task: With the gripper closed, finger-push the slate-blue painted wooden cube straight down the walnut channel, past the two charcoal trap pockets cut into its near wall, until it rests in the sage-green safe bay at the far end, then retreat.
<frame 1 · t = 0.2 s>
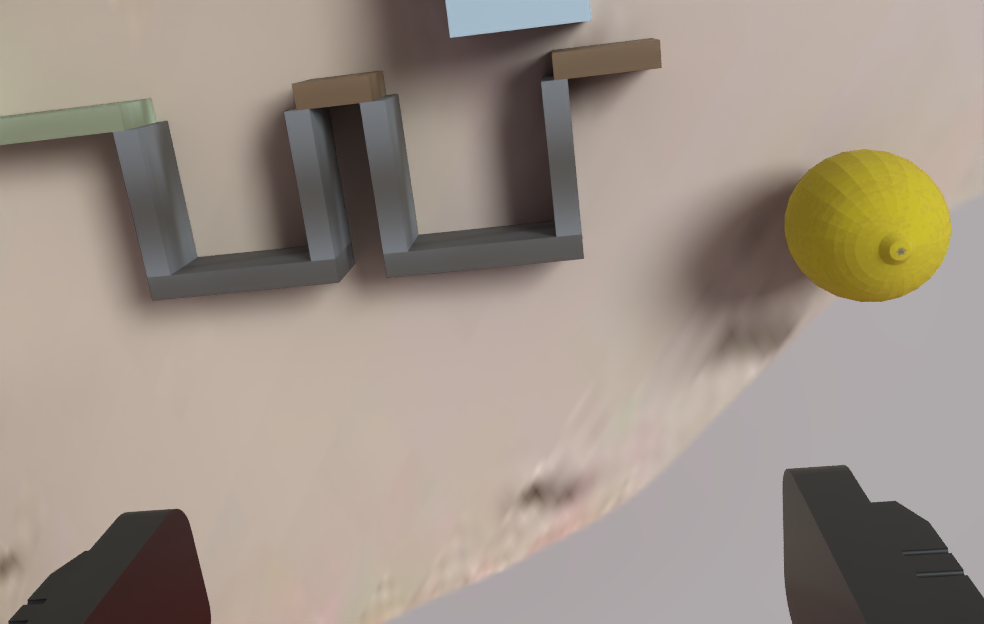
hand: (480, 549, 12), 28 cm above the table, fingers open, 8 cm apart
lemon: (832, 203, 39), on the table
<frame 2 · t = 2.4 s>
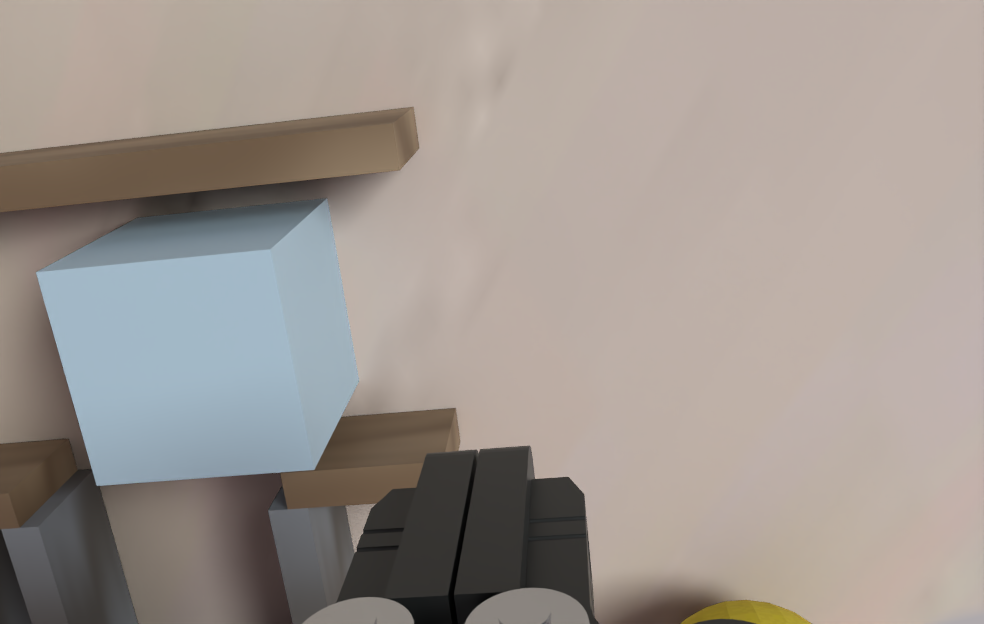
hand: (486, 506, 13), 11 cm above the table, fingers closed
block: (251, 300, 24), resting in trap box
lemon: (728, 621, 27), on the table
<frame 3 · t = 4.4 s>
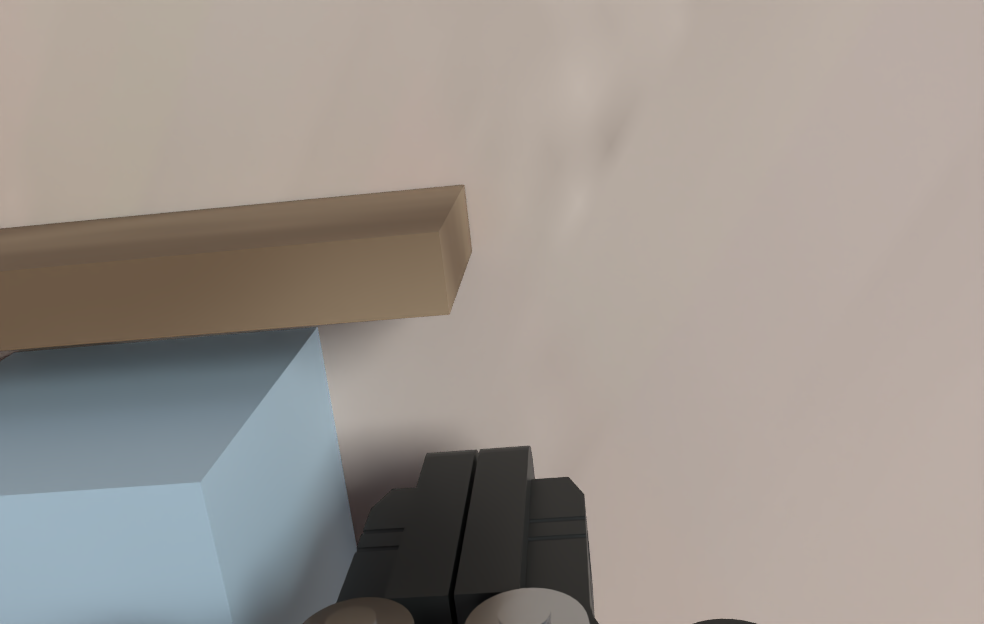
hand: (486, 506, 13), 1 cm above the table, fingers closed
block: (197, 479, 15), resting in trap box, touching gripper
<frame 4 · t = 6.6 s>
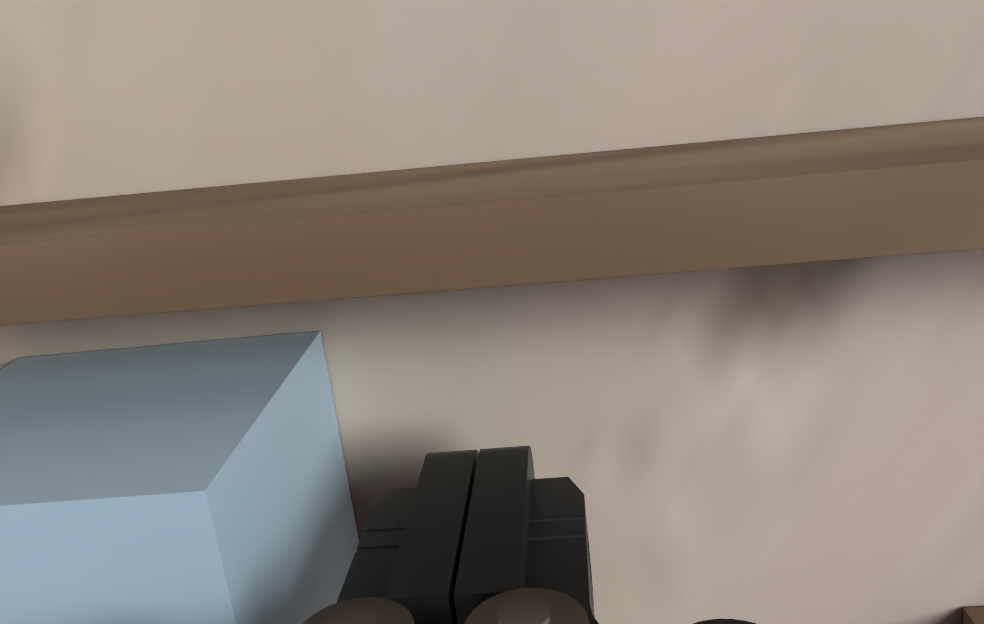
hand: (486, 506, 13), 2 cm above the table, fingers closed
trap box: (337, 453, 15), on the table
block: (200, 484, 15), resting in trap box, touching gripper
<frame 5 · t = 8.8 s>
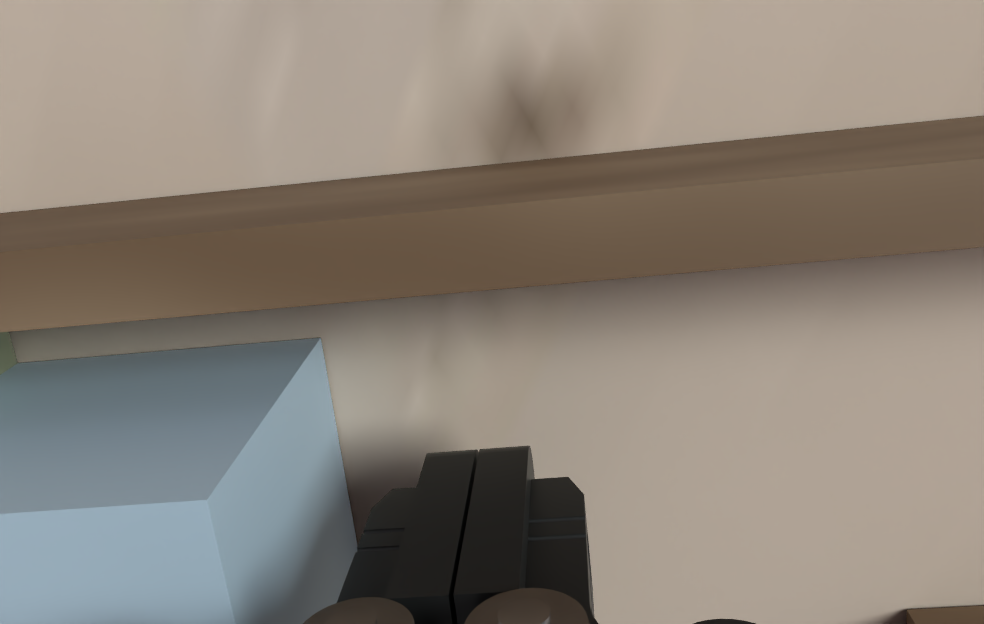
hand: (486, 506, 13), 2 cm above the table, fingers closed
trap box: (913, 416, 14), on the table
block: (199, 490, 15), resting in trap box, touching gripper
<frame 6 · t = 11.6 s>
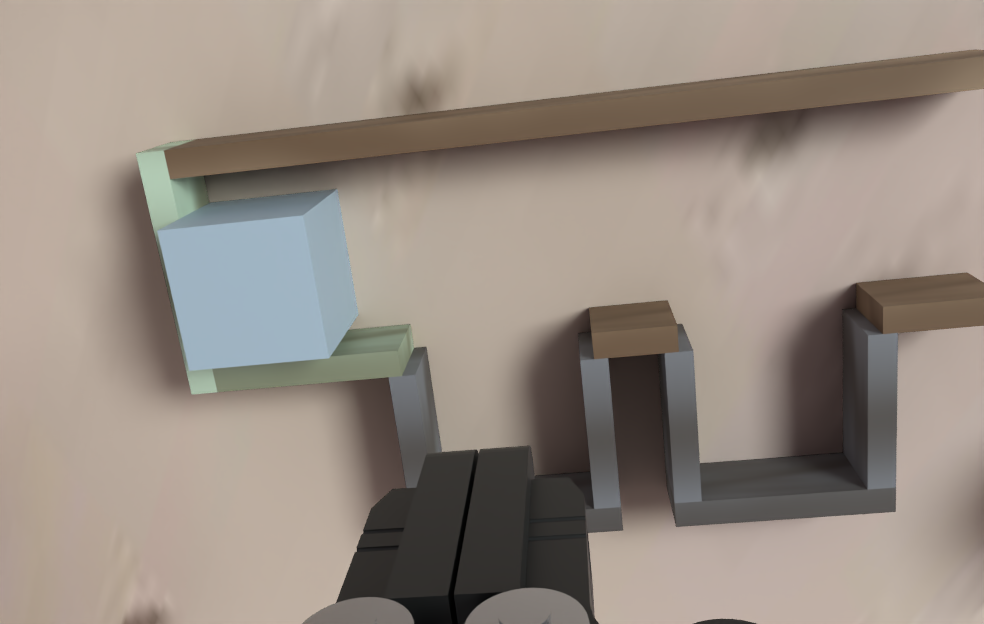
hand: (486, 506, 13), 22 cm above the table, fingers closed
trap box: (580, 218, 34), on the table
block: (285, 258, 36), resting in trap box
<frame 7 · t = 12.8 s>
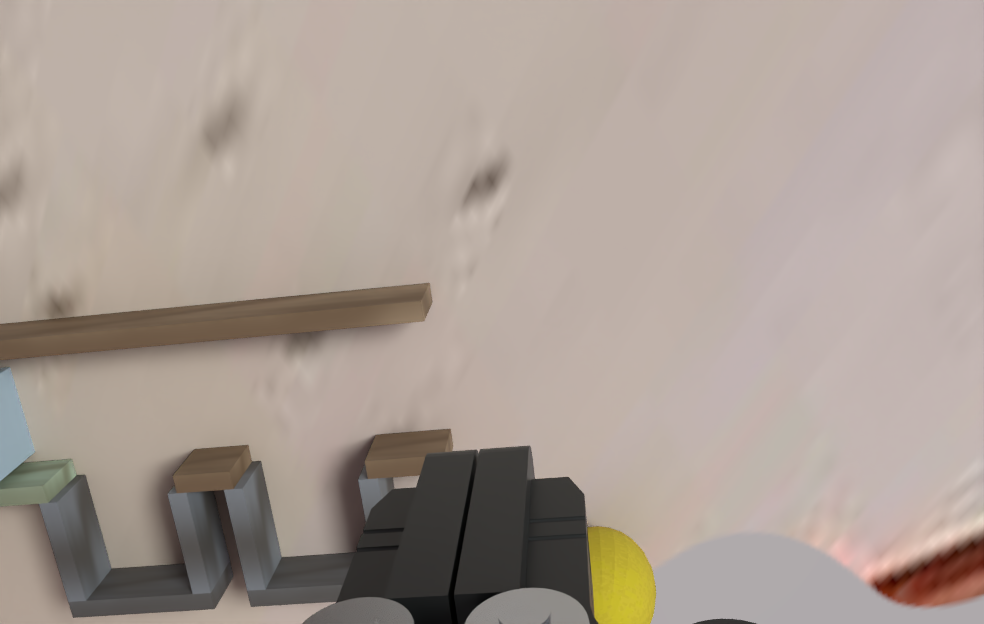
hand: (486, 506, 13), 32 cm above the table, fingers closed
trap box: (180, 389, 49), on the table
lemon: (596, 542, 50), on the table
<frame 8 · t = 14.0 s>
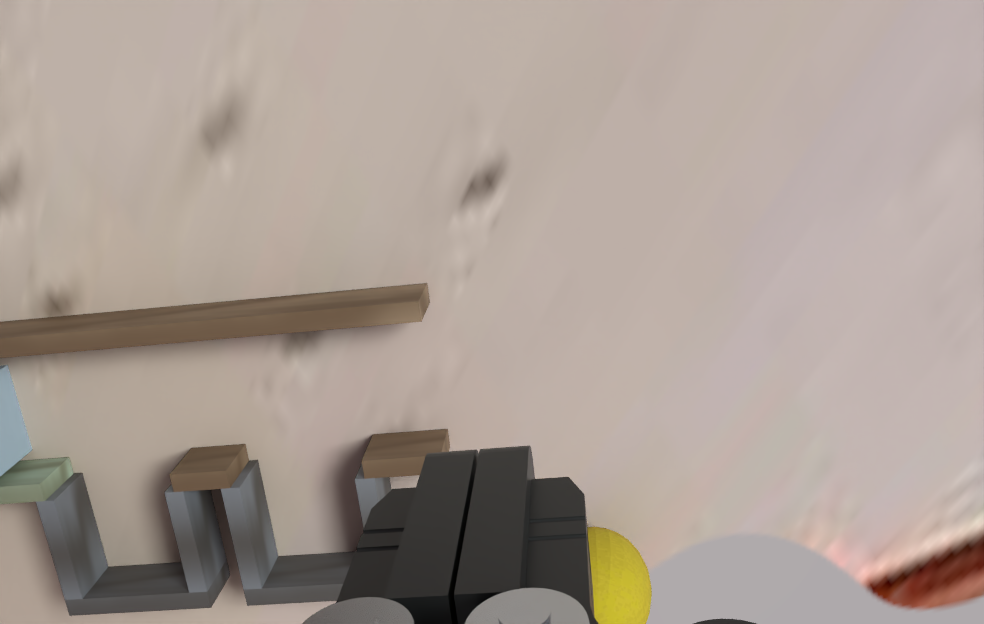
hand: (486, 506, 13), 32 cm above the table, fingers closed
trap box: (177, 388, 49), on the table
lemon: (592, 542, 50), on the table
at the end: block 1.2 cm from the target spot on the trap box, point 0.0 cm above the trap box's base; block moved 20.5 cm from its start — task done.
